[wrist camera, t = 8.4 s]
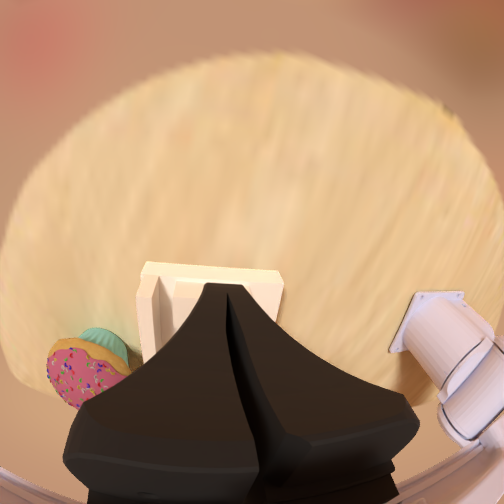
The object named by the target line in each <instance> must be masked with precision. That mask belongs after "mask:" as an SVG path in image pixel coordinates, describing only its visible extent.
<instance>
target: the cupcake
mask: <svg viewBox="0 0 504 504" xmlns="http://www.w3.org/2000/svg"><path fill="white" fill-rule="evenodd" d="M47 359H48V361H47V364H46V365H47V372H48V375H49V377H48V375H47V377H48V378H50V383H51V382H52V385H53V387H54V388H55V390H56V392H57V394H58V395H60V396H61V397H62V398H63V399H64V401H65V402H67V403H68V404H69V405H71V406H73V407H75V408H76V409H78V410H79V409H80V407H81V405H82V403H83V402H84V401H86V400H88V399H91V398H92V397H94V396H96V395H98V394H100V393H101V392H103V391H105V390H107V389H109V388H110V387H112V386H114V385H115V384H117V383H118V382H120V381H121V380H123V379H124V378H126V377H127V376H128V375H130V374H131V373H132V372H131V370H130V369H129V365H128V356H127V349H126V346H125V345H124V343H123V342H122V340H121V339H120V338H119V337H118V336H116V335H115V334H113V333H112V332H110V331H108V330H105V329H102V328H91V329H88V330H86V331H85V332H84V333H83V334H81V335H80V336H79V337H78V338H68V339H60V340H58V341H57V342H56V343H55V344H54V346H53V347H52V348H51V350H50V352H49V355H48V358H47Z"/></svg>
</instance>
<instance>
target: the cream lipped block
mask: <svg viewBox="0 0 504 504" xmlns="http://www.w3.org/2000/svg"><path fill="white" fill-rule="evenodd" d="M207 282H210V283H225V284H242V285H243V286H244V287H245V288H246V290H247V291H248V292H249V293H250V295H251V296H252V297H253V298H254V300H255V301H256V302H257V303H258V304H259V306H260V307H261V308H262V309H263V310H264V311H265V312H266V313H267V314H268V316H269V317H270V318H271V319H272V320H273V321H274V322H276V318H277V313H278V309H279V305H280V300H281V296H282V291H283V286H284V282H283V280H282V278H281V276H280V274H279V272H278V271H273V270H257V269H242V268H227V267H213V266H199V265H186V264H173V263H160V262H148V261H146V264H145V266H144V268H143V270H142V272H141V284H140V287H139V289H138V291H137V294H136V307H137V317H138V326H139V334H140V342H141V349H142V356H143V362H144V363H146V362H147V361H148V360H149V359H150V358H151V357H152V356H153V355H155V354H156V353H157V352H158V351H159V350H160V349H161V348H162V347H163V346H164V345H165V344H166V343H167V342H168V341H169V340H170V339H171V337H172V336H173V335H174V334H175V333H176V332H177V330H178V329H179V328H180V327H181V325H182V324H183V322H184V321H185V320H186V318H187V317H188V316H189V314H190V313H191V311H192V309H193V308H194V306H195V304H196V303H197V301H198V299H199V297H200V295H201V293H202V290H203V287H204V284H206V283H207Z"/></svg>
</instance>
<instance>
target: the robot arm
mask: <svg viewBox="0 0 504 504" xmlns="http://www.w3.org/2000/svg"><path fill="white" fill-rule="evenodd" d="M463 297H464V292H463V291H437V292H417V293H415V295H414V297H413V299H412V301H411V304H410V306H409V308H408V311H407V313H406V315H405V317H404V320H403V322H402V324H401V326H400V328H399V330H398V332H397V334H396V336H395V338H394V340H393V342H392V344H391V346H390V348H389V351H390V352H391V353H395V352H401V351H407V350H409V351H410V352H411V353H412V355H413V356H414V357H415V359H416V360H417V361H418V363H419V364H420V365H421V366H422V368H423V369H424V370H425V372H426V373H427V374H428V376H429V377H430V378H431V380H432V381H433V382H434V384H435V385H436V387H437V388H438V389H439V391H440V392H439V393H438V394H437V397H438V399H439V400H440V403H439V404H438V407H437V418H438V421H439V424H440V425H441V428H442V429H443V431H444V432H445V433H446V435H447V436H448V437H449V438H450V439H451V440H452V441H454V442H455V443H457V444H458V445H459V446H460V447H461V448H462V449H461V450H460V451H458V452H456V453H455V454H453V455H452V456H450V457H448V458H447V459H445V460H443V461H442V462H440V463H438V464H436V465H434V466H433V467H431V468H429V469H427V470H425V471H423V472H421V473H419V474H417V475H415V476H413V477H411V478H409V479H407V480H405V481H403V482H400V483H398V484H396V485H395V483H394V481H393V479H392V477H391V474H390V473H392V472H394V471H395V467H394V465H393V462H392V460H391V459H392V458H393V457H394V456H395V455H396V454H398V453H399V452H400V451H401V450H402V449H403V448H404V447H405V446H406V445H407V444H408V443H409V442H410V441H411V440H412V439H413V437H414V436H415V435H416V433H417V431H418V429H419V427H420V421H419V419H418V418H417V416H416V414H415V413H414V411H413V409H412V408H411V406H410V404H409V403H408V401H407V400H406V398H405V397H404V395H403V394H400V393H397V392H394V391H391V390H388V389H385V388H382V387H379V386H376V385H373V384H371V383H368V382H366V381H363V380H361V379H359V378H357V377H355V376H352V375H350V374H348V373H346V372H344V371H342V370H340V369H338V368H336V367H335V366H333V365H331V364H330V363H328V362H326V361H324V360H323V359H321V358H320V357H318V356H316V355H315V354H313V353H312V352H310V351H309V350H308V349H306V348H305V347H304V346H302V345H301V344H300V343H298V342H297V341H296V340H294V339H293V338H292V337H291V336H289V335H288V334H287V333H286V332H285V331H284V330H283V329H282V328H281V327H280V326H278V325H277V324H276V323H275V322H274V321H273V320H272V319H271V318H270V317H269V316H268V314H267V313H266V312H265V311H264V310H263V309H262V308H261V307H260V306H259V304H258V303H257V302H256V301H255V300H254V298H253V297H252V296H251V295H250V293H249V292H248V291H247V290H246V288H245V287H244V286H243V285H242V284H225V283H210V282H207V283H206V284H204V287H203V290H202V293H201V295H200V297H199V299H198V301H197V303H196V304H195V306H194V308H193V309H192V311H191V313H190V314H189V316H188V317H187V318H186V320H185V321H184V322H183V324H182V325H181V327H180V328H179V329H178V330H177V332H176V333H175V334H174V335H173V336H172V337H171V339H170V340H169V341H168V342H167V343H166V344H165V345H164V346H163V347H162V348H161V349H160V350H159V351H158V352H157V353H156V354H155V355H153V356H152V357H151V358H150V359H149V360H148V361H147V362H146V363H144V364H143V365H142V366H141V367H139V368H138V369H137V370H135V371H134V372H132V373H131V374H130V375H128V376H127V377H126V378H124V379H123V380H121V381H120V382H118V383H117V384H115V385H114V386H112V387H110V388H109V389H107V390H105V391H103V392H101V393H100V394H98V395H96V396H94V397H92V398H91V399H88V400H86V401H84V402H83V403H82V405H81V407H80V409H79V411H78V413H77V415H76V417H75V419H74V421H73V423H72V425H71V428H70V432H69V435H68V438H67V442H66V446H65V449H64V453H63V463H64V464H65V466H66V467H67V468H68V469H69V471H70V472H71V473H72V474H73V475H74V476H75V477H76V478H77V479H78V480H79V481H81V482H82V483H83V484H84V485H85V486H86V487H87V488H89V493H88V501H87V504H496V503H497V502H498V501H499V499H500V498H501V496H502V495H503V493H504V414H503V415H502V416H500V417H499V418H498V419H497V420H495V419H496V418H497V417H498V415H499V414H500V413H501V412H502V411H503V410H504V335H500V336H498V335H497V336H496V337H495V335H494V331H493V329H492V327H491V326H490V324H489V323H488V322H487V321H486V320H485V319H483V318H482V317H481V316H480V315H479V314H478V313H477V312H476V311H474V310H473V309H472V308H471V307H470V306H469V305H468V304H466V303H465V302H464V301H463V300H462V299H463ZM494 420H495V421H494ZM493 421H494V422H493ZM492 422H493V423H492ZM491 423H492V424H491ZM490 424H491V425H490ZM489 425H490V426H489ZM488 426H489V427H488ZM487 427H488V428H487ZM486 428H487V429H486ZM485 429H486V430H485ZM483 430H485V431H484V432H482V431H483ZM0 504H86V503H83V502H80V501H77V500H74V499H71V498H68V497H65V496H62V495H59V494H57V493H55V492H52V491H49V490H47V489H45V488H42V487H40V486H38V485H36V484H33V483H31V482H29V481H27V480H25V479H23V478H21V477H19V476H17V475H15V474H13V473H11V472H10V471H8V470H6V469H4V468H2V467H1V466H0Z"/></svg>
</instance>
